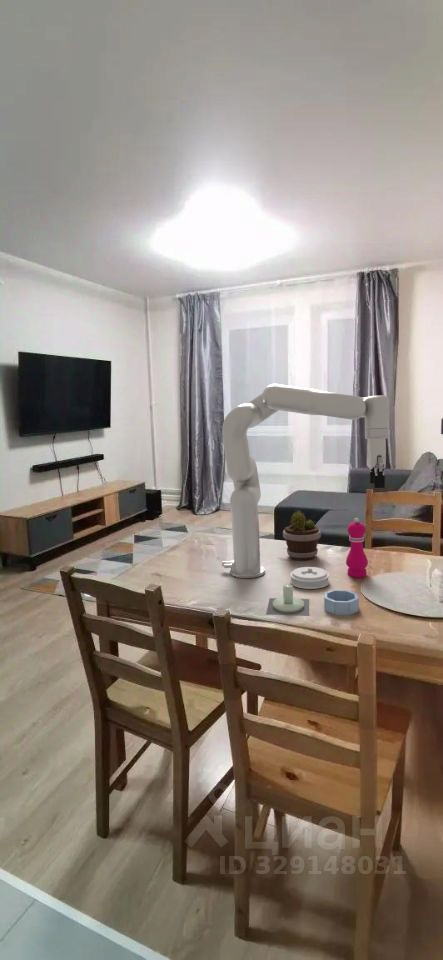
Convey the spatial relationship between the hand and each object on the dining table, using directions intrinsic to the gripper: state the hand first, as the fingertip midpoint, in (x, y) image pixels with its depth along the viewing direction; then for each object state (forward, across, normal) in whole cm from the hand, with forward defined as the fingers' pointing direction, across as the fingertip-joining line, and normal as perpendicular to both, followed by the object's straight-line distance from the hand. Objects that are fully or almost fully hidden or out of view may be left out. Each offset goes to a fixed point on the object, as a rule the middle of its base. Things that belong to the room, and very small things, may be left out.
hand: (377, 485), depth 162 cm
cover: (+31, +29, -29) cm, 51 cm away
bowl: (+31, +29, -14) cm, 45 cm away
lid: (+32, +9, -23) cm, 40 cm away
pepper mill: (+31, 0, -7) cm, 32 cm away
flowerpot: (+31, -21, -25) cm, 45 cm away
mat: (+31, +29, -29) cm, 52 cm away
